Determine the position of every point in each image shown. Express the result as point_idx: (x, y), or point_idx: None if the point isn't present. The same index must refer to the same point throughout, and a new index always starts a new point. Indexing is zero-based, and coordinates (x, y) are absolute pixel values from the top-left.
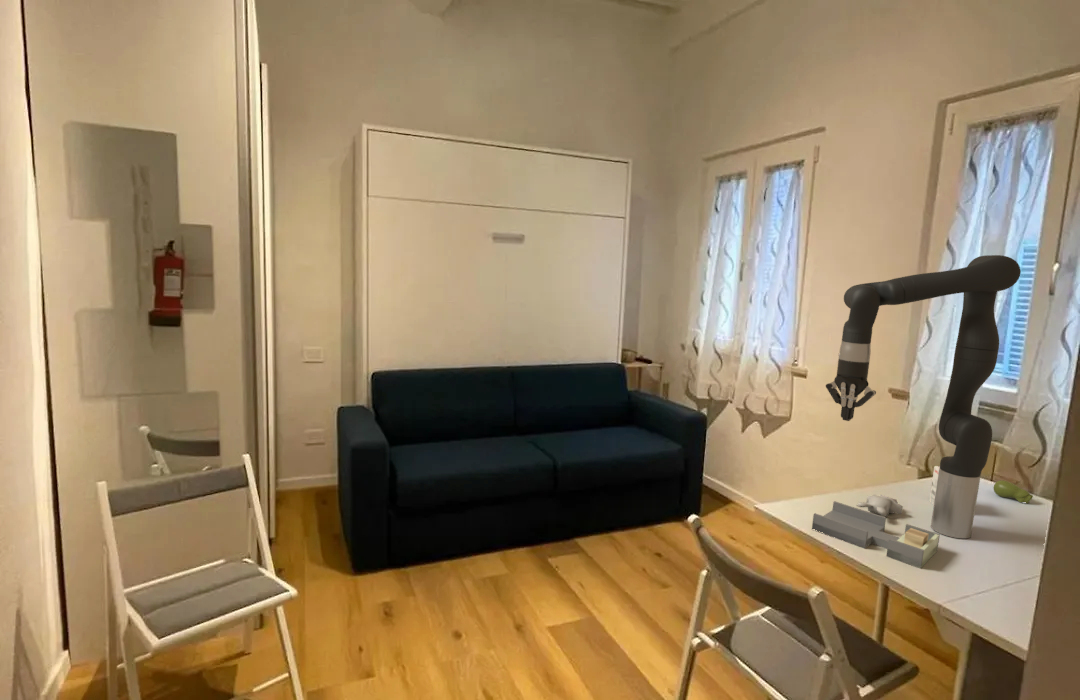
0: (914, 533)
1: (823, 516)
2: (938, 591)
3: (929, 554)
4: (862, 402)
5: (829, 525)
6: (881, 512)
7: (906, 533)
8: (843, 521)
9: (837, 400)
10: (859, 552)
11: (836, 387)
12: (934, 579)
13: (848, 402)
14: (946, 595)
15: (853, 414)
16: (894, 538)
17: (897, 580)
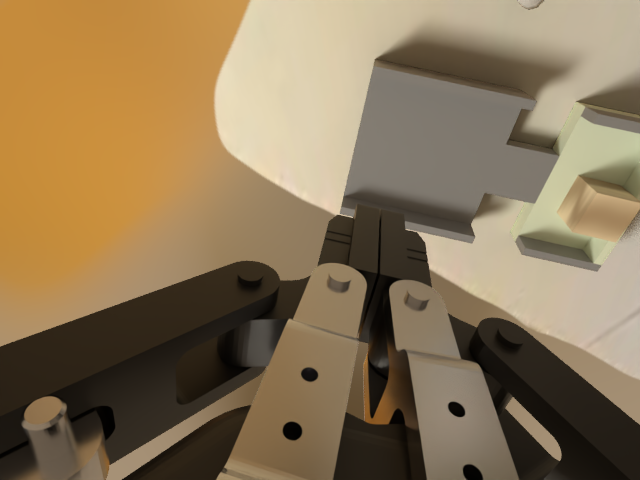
0: (597, 225)
1: None
2: (590, 316)
3: None
4: (532, 466)
5: None
6: (529, 6)
7: (574, 231)
8: (410, 143)
9: (243, 368)
10: (453, 246)
11: (95, 460)
12: (597, 277)
13: (367, 399)
14: (602, 322)
15: (425, 260)
16: (542, 171)
17: (519, 315)
